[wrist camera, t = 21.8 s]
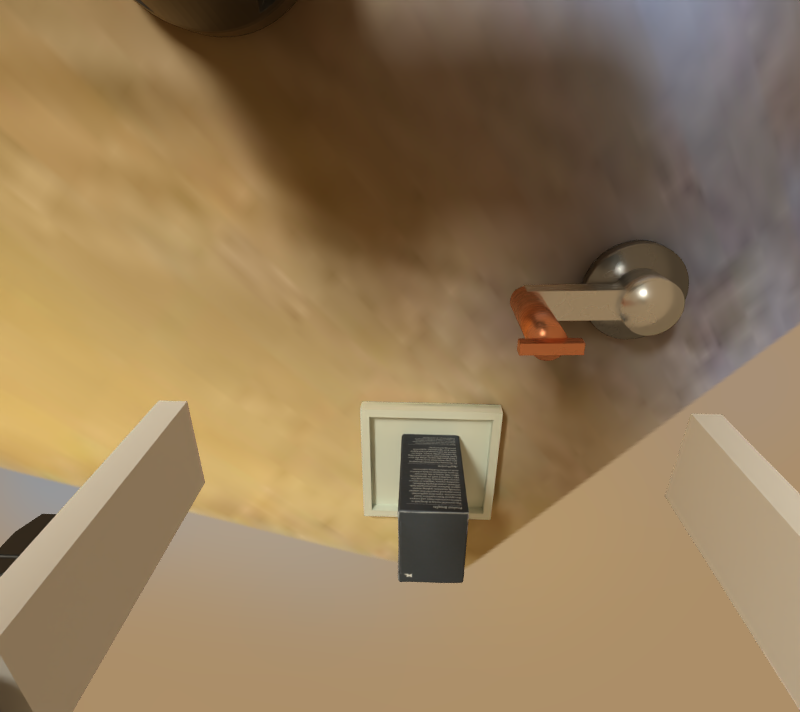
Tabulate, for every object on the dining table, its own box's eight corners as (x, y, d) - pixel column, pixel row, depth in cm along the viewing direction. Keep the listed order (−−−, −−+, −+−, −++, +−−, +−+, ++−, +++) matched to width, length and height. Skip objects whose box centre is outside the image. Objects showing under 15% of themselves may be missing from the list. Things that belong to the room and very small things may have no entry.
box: (455, 496, 51) (463, 585, 41) (400, 494, 51) (395, 582, 41) (460, 433, 47) (470, 514, 38) (401, 431, 47) (396, 512, 38)
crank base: (573, 332, 43) (577, 338, 41) (589, 239, 39) (594, 243, 38) (667, 334, 42) (674, 340, 41) (693, 240, 39) (700, 244, 38)
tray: (365, 506, 52) (364, 515, 51) (361, 401, 46) (360, 409, 45) (488, 509, 52) (490, 519, 51) (500, 404, 46) (502, 413, 45)
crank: (672, 267, 38) (746, 314, 29) (660, 320, 40) (726, 379, 31) (499, 270, 39) (522, 317, 30) (496, 321, 41) (517, 380, 32)
